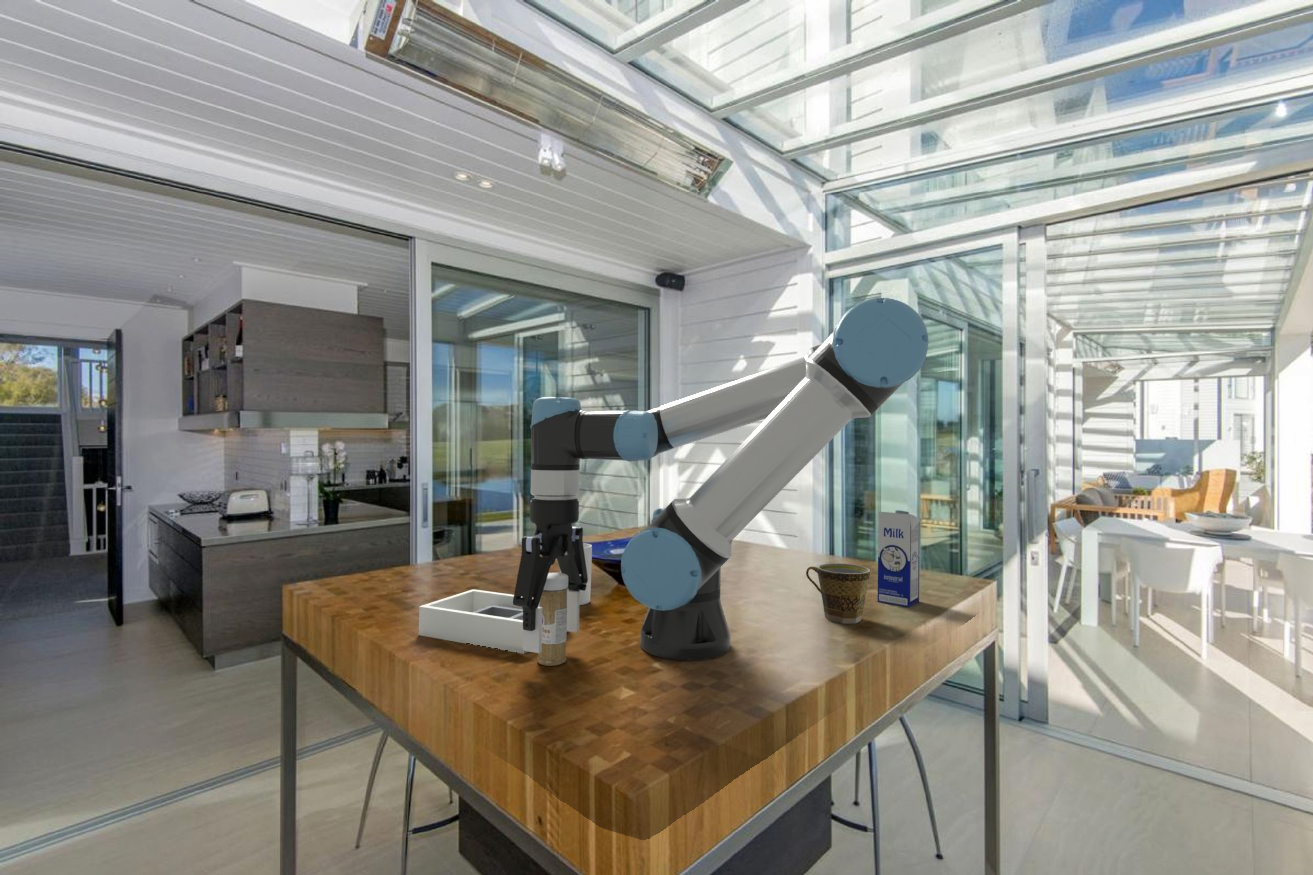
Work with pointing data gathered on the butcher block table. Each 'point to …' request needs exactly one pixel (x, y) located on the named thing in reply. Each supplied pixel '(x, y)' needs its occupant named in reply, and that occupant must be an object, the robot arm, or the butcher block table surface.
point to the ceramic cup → (842, 590)
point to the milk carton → (898, 558)
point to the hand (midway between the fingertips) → (552, 640)
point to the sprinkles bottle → (554, 620)
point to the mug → (588, 559)
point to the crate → (475, 620)
